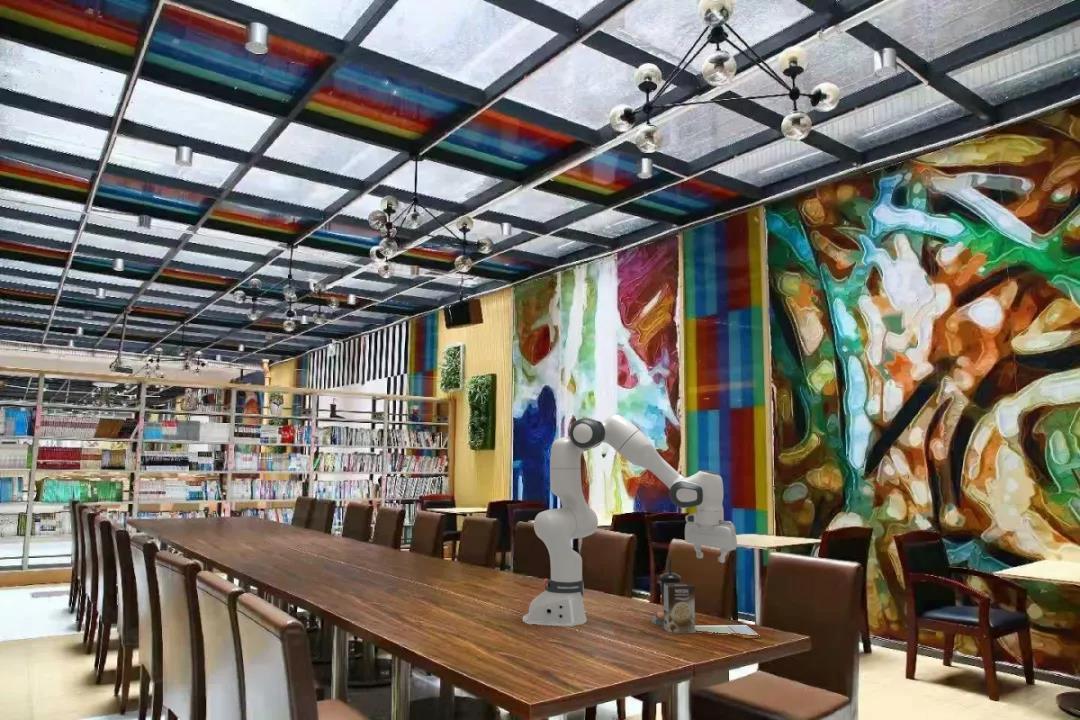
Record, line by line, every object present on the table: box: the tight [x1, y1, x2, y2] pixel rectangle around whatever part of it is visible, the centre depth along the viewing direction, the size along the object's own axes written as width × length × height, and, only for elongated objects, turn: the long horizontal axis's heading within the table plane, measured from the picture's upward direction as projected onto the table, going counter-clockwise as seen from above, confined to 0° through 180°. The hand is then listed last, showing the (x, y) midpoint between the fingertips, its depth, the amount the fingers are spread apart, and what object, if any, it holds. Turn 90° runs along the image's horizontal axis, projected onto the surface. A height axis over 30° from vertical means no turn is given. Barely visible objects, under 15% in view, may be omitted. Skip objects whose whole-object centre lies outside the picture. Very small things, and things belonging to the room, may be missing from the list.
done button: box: [656, 611, 664, 619], centre depth 255 cm, size 3×3×2 cm
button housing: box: [651, 615, 664, 627], centre depth 255 cm, size 6×6×3 cm
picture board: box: [695, 624, 759, 635], centre depth 246 cm, size 20×15×1 cm
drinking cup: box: [659, 557, 682, 606], centre depth 273 cm, size 8×8×20 cm
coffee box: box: [663, 582, 696, 634], centre depth 246 cm, size 9×6×16 cm
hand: (710, 560), depth 248 cm, fingers open, 8 cm apart
